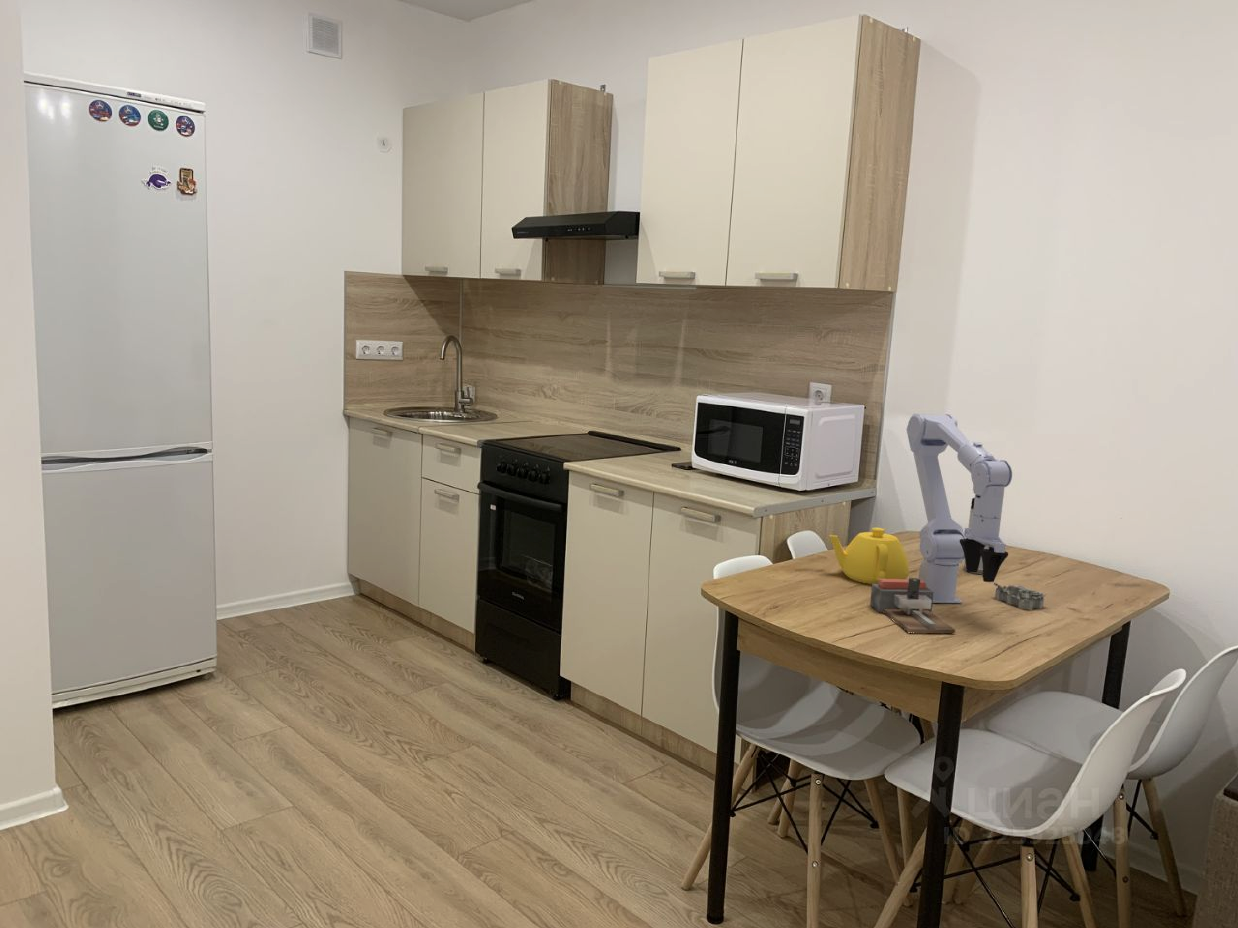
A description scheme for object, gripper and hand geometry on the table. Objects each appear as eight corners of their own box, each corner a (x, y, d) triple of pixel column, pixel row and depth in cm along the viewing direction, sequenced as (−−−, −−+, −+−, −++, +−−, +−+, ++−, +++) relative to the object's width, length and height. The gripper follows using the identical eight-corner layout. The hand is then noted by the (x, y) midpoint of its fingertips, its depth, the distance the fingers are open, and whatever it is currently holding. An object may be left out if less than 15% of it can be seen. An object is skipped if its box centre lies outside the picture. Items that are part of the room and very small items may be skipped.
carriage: (892, 608, 207) (895, 576, 206) (923, 609, 207) (926, 577, 206) (899, 614, 203) (902, 581, 202) (930, 614, 204) (933, 581, 203)
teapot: (901, 571, 244) (905, 523, 242) (916, 592, 226) (921, 540, 224) (822, 565, 246) (826, 518, 244) (831, 585, 228) (835, 534, 226)
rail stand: (870, 605, 213) (872, 583, 212) (920, 605, 215) (923, 584, 214) (903, 633, 195) (906, 610, 194) (959, 634, 196) (961, 611, 195)
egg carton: (989, 598, 225) (991, 581, 224) (1013, 596, 228) (1015, 579, 227) (1023, 611, 215) (1025, 594, 214) (1048, 609, 218) (1050, 592, 217)
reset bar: (878, 585, 211) (878, 578, 211) (920, 585, 213) (921, 579, 212) (882, 588, 209) (882, 581, 209) (925, 589, 210) (926, 582, 210)
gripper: (954, 508, 211) (947, 567, 213) (985, 522, 196) (978, 585, 199) (984, 509, 211) (977, 567, 214) (1017, 523, 197) (1010, 586, 199)
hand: (979, 576), depth 206 cm, fingers open, 7 cm apart
